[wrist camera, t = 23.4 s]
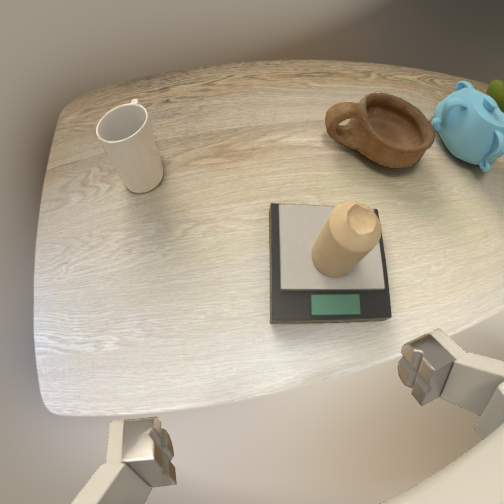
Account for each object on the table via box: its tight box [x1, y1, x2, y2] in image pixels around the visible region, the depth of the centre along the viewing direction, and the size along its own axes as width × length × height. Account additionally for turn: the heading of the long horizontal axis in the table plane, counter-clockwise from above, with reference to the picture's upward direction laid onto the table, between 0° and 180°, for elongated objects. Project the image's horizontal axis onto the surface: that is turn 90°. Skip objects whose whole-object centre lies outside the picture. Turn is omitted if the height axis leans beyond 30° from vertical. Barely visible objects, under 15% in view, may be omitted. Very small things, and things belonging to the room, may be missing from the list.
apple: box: [487, 80, 504, 113], centre depth 53 cm, size 11×10×10 cm
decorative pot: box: [431, 81, 504, 172], centre depth 45 cm, size 16×16×14 cm
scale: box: [269, 203, 391, 323], centre depth 39 cm, size 15×15×3 cm
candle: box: [311, 201, 381, 277], centre depth 32 cm, size 6×6×10 cm
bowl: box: [325, 93, 435, 168], centre depth 44 cm, size 18×14×10 cm
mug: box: [96, 99, 163, 193], centre depth 39 cm, size 10×7×12 cm, turn 177°
